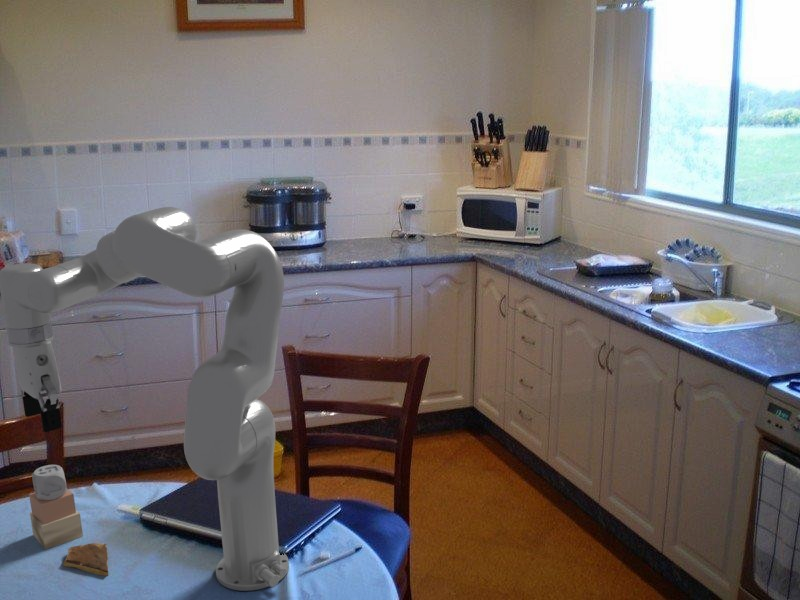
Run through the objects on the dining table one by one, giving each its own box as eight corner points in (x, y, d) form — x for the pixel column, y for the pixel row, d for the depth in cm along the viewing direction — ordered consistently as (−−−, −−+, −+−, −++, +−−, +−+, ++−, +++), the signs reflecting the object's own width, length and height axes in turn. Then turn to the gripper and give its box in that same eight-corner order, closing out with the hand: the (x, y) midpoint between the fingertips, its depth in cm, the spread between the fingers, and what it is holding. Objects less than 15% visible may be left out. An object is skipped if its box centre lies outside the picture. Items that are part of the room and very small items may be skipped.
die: (68, 496, 163) (64, 471, 162) (39, 503, 160) (36, 478, 159) (62, 486, 167) (58, 462, 166) (34, 493, 165) (30, 468, 163)
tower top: (76, 512, 165) (73, 493, 164) (44, 524, 161) (41, 504, 160) (63, 502, 169) (60, 483, 168) (31, 513, 165) (29, 494, 164)
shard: (109, 579, 152) (108, 570, 152) (62, 588, 150) (61, 579, 150) (108, 548, 162) (106, 539, 162) (64, 556, 160) (63, 547, 159)
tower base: (83, 537, 166) (79, 513, 165) (45, 550, 162) (42, 526, 160) (70, 523, 171) (66, 500, 170) (33, 536, 167) (29, 512, 166)
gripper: (68, 338, 152) (81, 430, 156) (35, 319, 165) (47, 404, 169) (24, 348, 147) (38, 442, 152) (-7, 327, 160) (7, 414, 164)
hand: (43, 422), depth 160 cm, fingers open, 9 cm apart
